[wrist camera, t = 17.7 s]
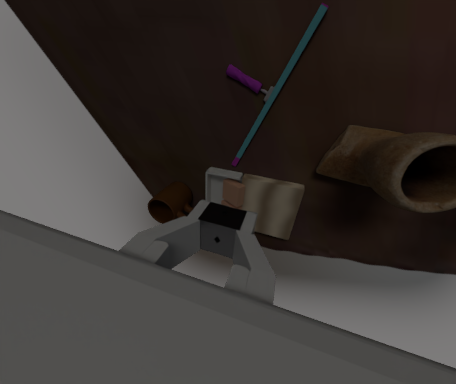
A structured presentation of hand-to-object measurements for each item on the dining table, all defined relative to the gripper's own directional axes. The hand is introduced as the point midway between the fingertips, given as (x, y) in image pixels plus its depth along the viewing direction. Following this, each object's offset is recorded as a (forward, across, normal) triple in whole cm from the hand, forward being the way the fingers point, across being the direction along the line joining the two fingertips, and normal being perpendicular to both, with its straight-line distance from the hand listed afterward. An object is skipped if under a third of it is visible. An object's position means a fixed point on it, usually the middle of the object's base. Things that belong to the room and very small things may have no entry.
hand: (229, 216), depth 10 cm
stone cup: (+31, -17, +3) cm, 36 cm away
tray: (+31, +9, +19) cm, 38 cm away
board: (+31, -2, +19) cm, 36 cm away
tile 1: (+29, +6, +16) cm, 34 cm away
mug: (+31, +20, +22) cm, 43 cm away
